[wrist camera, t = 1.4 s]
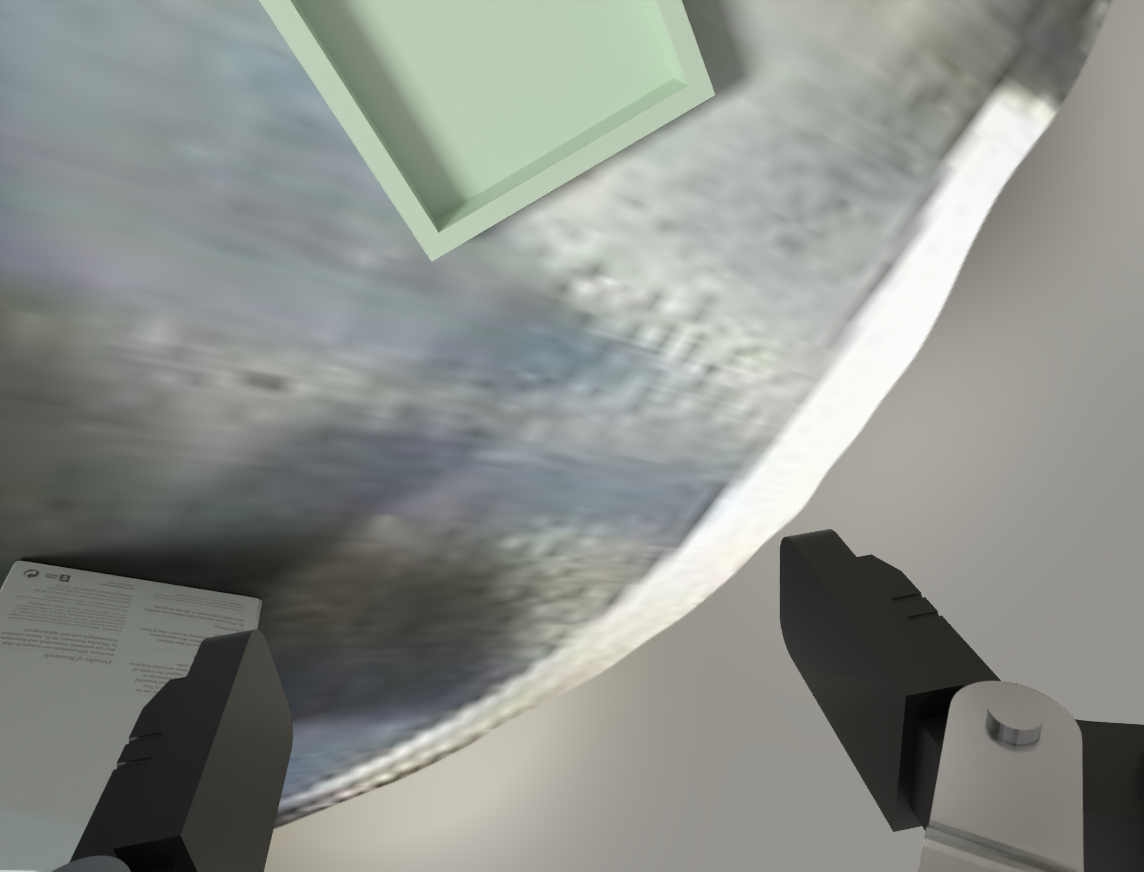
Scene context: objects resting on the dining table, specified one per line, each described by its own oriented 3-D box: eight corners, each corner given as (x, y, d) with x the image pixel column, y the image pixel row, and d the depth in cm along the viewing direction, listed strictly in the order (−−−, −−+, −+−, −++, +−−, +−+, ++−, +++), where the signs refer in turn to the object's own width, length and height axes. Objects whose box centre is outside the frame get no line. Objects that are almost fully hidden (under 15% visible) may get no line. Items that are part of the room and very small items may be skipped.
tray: (215, -81, 31) (206, -80, 29) (555, -299, 29) (570, -314, 27) (427, 243, 39) (431, 261, 37) (695, 84, 38) (715, 94, 36)
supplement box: (-16, 714, 49) (-163, 1044, 35) (13, 554, 43) (-149, 869, 29) (214, 734, 54) (168, 1027, 40) (266, 595, 49) (233, 876, 35)
